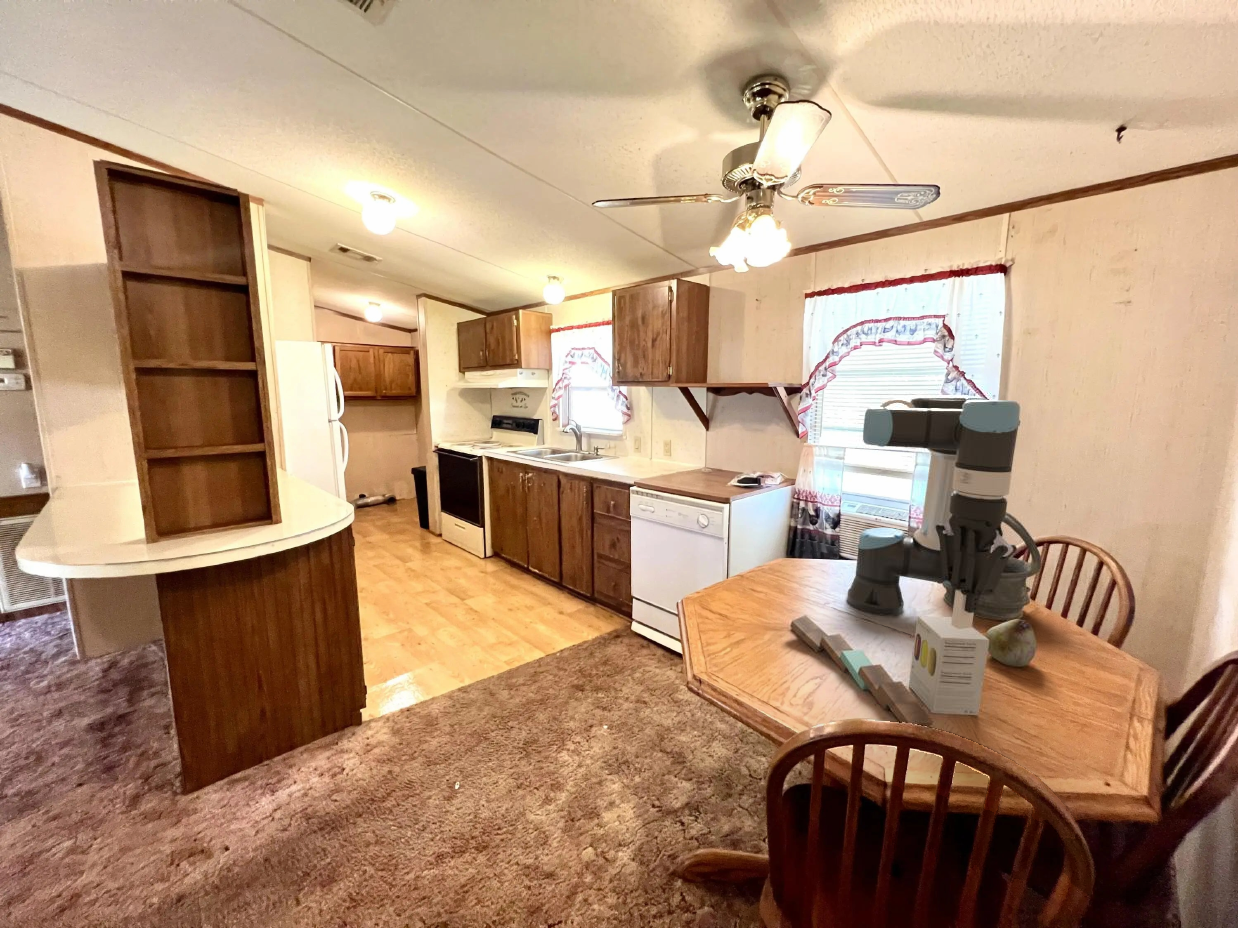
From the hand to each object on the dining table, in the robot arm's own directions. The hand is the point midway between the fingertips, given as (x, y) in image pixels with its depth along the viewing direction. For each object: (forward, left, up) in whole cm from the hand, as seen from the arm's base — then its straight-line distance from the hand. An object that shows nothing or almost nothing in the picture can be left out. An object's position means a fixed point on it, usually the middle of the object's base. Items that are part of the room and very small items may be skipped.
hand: (961, 626), depth 83 cm
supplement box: (-12, -12, -25) cm, 30 cm away
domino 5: (0, -5, -24) cm, 24 cm away
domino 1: (+1, -36, -24) cm, 44 cm away
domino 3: (0, -25, -24) cm, 34 cm away
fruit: (-40, -21, -25) cm, 51 cm away
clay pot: (-61, -46, -25) cm, 80 cm away
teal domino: (0, -18, -24) cm, 30 cm away
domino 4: (0, -12, -24) cm, 26 cm away
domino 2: (+1, -34, -23) cm, 41 cm away
